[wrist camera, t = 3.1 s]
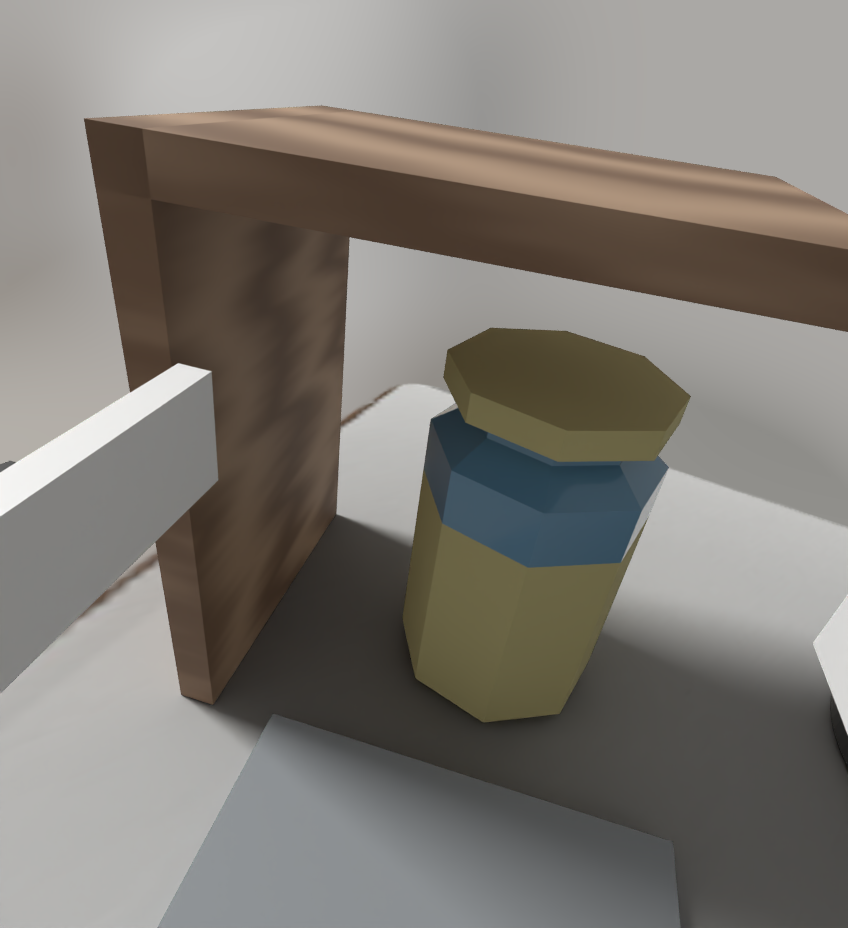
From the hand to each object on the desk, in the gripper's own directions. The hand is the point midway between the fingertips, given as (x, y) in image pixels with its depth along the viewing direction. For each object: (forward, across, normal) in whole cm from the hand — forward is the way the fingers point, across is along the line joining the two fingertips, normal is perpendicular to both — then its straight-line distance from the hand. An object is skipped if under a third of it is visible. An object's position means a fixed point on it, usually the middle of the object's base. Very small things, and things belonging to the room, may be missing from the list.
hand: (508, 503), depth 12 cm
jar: (+11, +1, -16) cm, 20 cm away
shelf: (+11, -2, -16) cm, 20 cm away
